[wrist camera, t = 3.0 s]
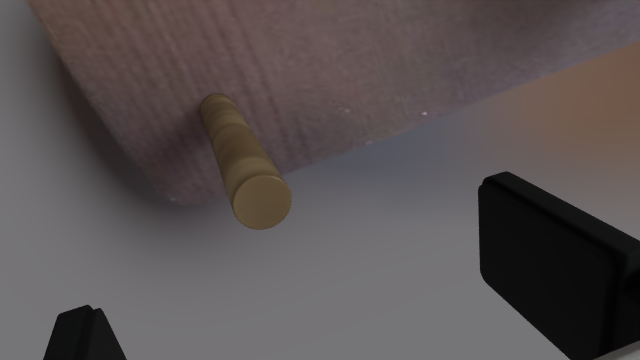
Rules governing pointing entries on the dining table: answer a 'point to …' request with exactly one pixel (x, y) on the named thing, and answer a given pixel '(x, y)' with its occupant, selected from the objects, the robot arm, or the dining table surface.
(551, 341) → the robot arm
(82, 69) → the dining table surface
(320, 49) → the dining table surface
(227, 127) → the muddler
